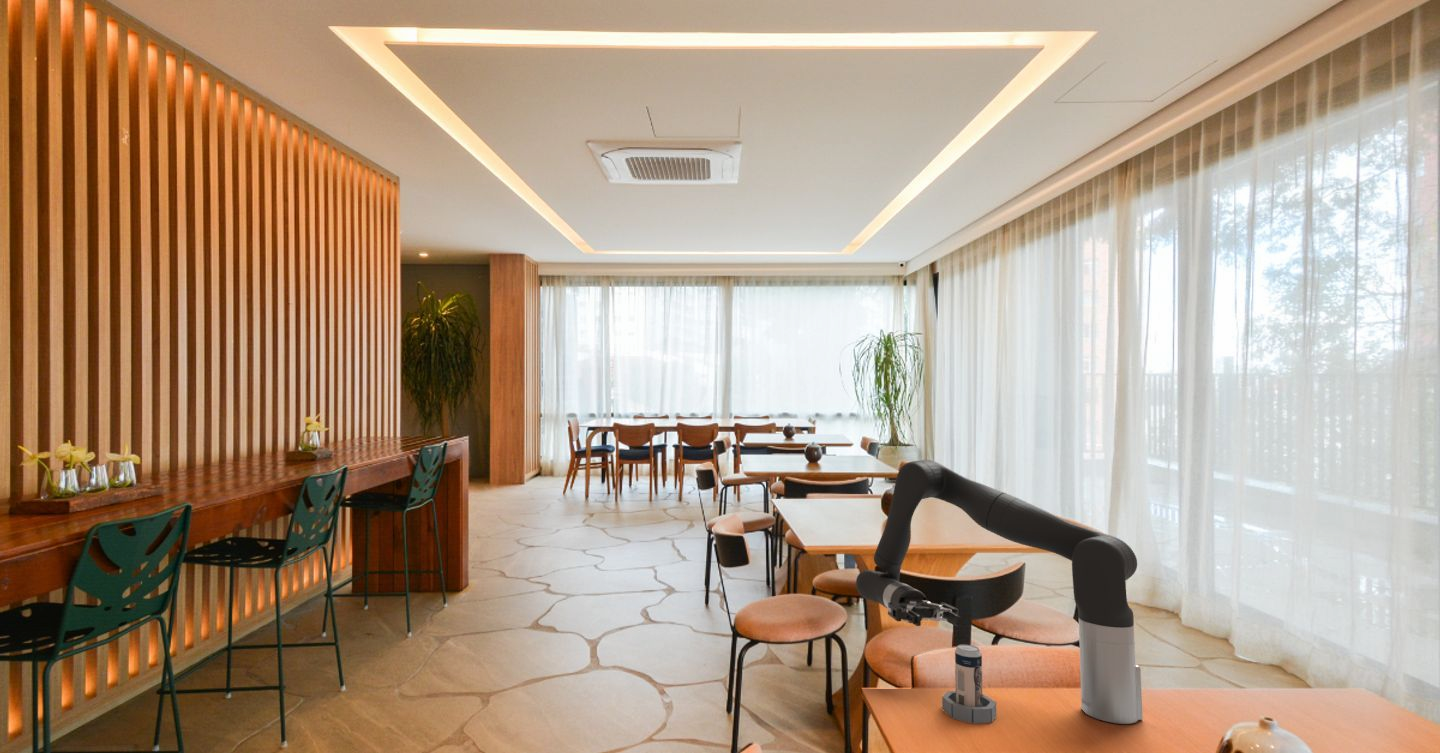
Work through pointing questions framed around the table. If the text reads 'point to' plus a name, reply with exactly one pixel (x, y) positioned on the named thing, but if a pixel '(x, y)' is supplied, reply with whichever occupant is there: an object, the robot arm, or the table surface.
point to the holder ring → (969, 709)
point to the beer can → (968, 676)
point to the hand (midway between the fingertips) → (938, 621)
